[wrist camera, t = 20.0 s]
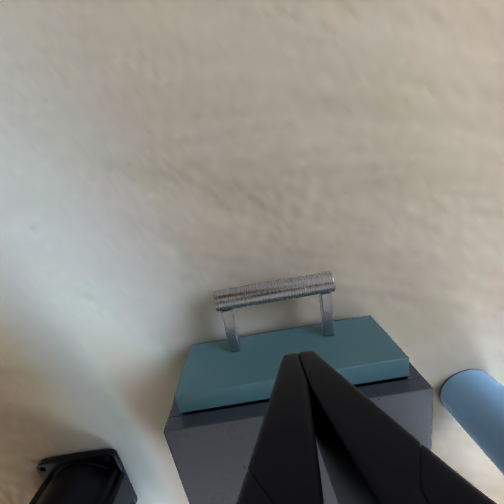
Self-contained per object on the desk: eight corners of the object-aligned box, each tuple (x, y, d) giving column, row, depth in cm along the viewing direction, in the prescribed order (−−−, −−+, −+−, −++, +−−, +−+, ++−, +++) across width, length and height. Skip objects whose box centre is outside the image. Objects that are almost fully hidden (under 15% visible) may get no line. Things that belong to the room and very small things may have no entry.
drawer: (174, 291, 16) (151, 329, 12) (367, 257, 16) (409, 284, 12) (227, 473, 21) (222, 546, 17) (377, 450, 21) (410, 518, 17)
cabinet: (188, 352, 19) (163, 432, 13) (373, 321, 18) (433, 388, 13) (226, 482, 23) (219, 588, 17) (380, 457, 22) (428, 558, 16)
